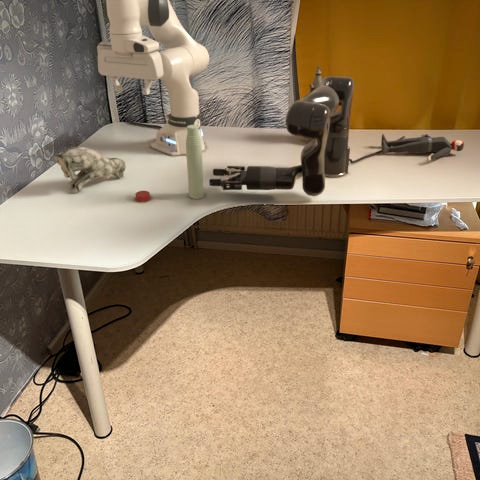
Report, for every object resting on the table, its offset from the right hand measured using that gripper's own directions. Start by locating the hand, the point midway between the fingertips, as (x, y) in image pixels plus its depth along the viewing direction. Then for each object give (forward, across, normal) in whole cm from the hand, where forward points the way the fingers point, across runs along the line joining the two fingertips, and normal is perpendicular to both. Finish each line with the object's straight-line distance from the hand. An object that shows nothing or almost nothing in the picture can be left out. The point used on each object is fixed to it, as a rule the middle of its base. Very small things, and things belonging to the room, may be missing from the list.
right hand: (211, 177), depth 172 cm
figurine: (+42, -6, +6) cm, 42 cm away
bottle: (+5, +1, +6) cm, 8 cm away
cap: (+22, +4, +5) cm, 23 cm away
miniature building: (-36, -56, +6) cm, 67 cm away
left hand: (+22, +4, -28) cm, 35 cm away
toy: (-75, -43, +6) cm, 87 cm away
